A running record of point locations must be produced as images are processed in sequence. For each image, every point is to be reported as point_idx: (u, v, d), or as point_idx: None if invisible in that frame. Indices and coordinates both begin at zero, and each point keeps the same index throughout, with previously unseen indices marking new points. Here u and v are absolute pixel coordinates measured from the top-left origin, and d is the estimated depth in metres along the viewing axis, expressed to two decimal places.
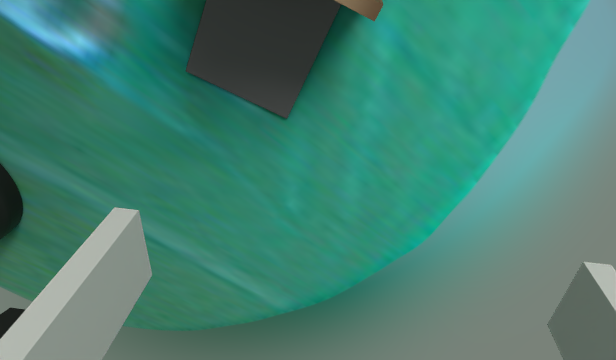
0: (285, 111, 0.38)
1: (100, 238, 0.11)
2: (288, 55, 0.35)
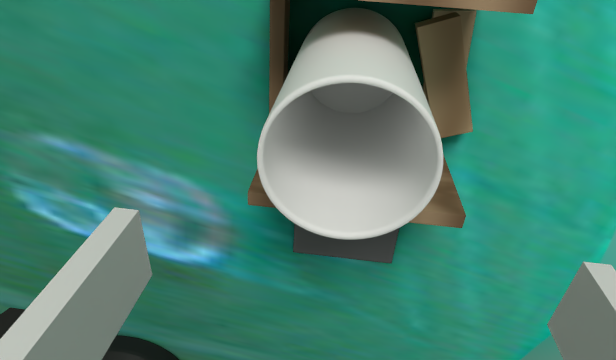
0: (388, 258, 0.41)
1: (100, 238, 0.11)
2: None
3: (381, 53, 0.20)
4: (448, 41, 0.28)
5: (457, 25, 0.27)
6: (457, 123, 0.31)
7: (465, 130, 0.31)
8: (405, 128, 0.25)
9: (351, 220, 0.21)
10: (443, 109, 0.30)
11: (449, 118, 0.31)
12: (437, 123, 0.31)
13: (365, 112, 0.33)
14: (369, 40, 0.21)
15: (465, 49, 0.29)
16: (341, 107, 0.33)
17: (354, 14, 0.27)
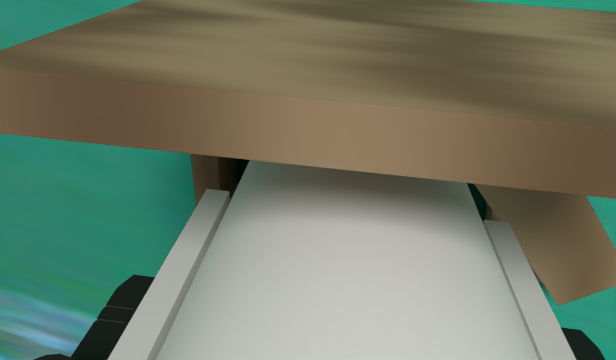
0: None
1: (203, 215, 0.12)
2: None
3: None
4: None
5: None
6: (595, 275, 0.16)
7: None
8: None
9: None
10: (559, 262, 0.16)
11: (576, 272, 0.16)
12: (554, 283, 0.16)
13: None
14: (399, 261, 0.07)
15: None
16: None
17: None
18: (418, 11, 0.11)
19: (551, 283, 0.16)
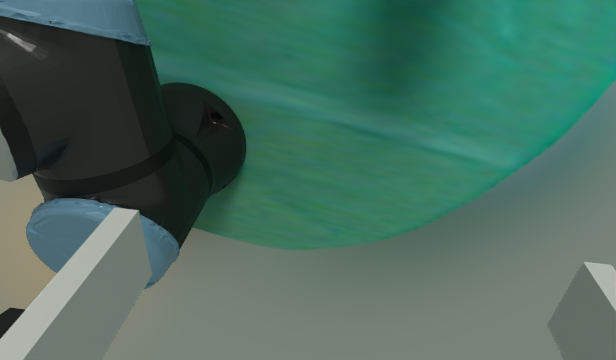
0: None
1: (100, 238, 0.11)
2: None
3: None
4: None
5: None
6: None
7: None
8: None
9: None
10: None
11: None
12: None
13: None
14: None
15: None
16: None
17: None
18: None
19: None
